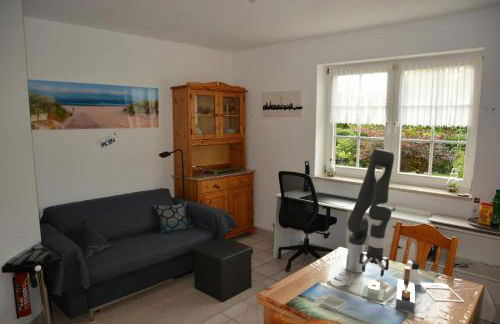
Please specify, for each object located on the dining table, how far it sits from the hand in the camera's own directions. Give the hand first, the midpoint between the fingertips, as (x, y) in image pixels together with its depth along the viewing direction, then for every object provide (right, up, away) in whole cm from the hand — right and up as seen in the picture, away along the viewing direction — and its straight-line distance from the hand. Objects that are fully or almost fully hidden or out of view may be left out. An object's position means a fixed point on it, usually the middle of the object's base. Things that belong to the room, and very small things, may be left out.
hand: (372, 273), depth 178 cm
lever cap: (+1, -10, +1) cm, 10 cm away
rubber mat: (+1, -11, +1) cm, 11 cm away
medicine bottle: (+27, -10, +16) cm, 33 cm away
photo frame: (+38, -12, +5) cm, 40 cm away
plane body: (+15, -12, -3) cm, 20 cm away
